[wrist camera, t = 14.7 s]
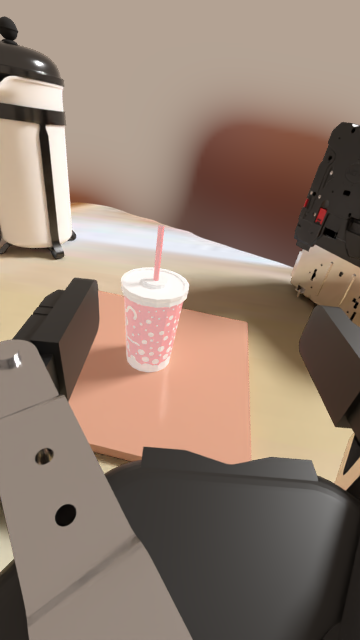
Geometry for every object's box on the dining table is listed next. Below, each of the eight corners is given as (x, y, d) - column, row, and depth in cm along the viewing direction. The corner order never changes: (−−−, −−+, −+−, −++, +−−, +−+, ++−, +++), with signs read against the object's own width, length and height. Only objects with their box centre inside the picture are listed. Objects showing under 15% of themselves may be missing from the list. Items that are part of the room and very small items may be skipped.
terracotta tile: (245, 328, 40) (247, 322, 39) (248, 491, 22) (251, 484, 21) (93, 295, 42) (93, 289, 41) (-23, 422, 23) (-27, 414, 23)
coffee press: (101, 251, 55) (97, 35, 38) (11, 269, 45) (-49, -16, 28) (57, 224, 64) (39, 40, 47) (-26, 233, 54) (-87, 3, 37)
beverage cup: (121, 337, 33) (124, 211, 25) (174, 340, 34) (193, 219, 26) (116, 377, 28) (119, 234, 20) (179, 378, 29) (204, 243, 21)
